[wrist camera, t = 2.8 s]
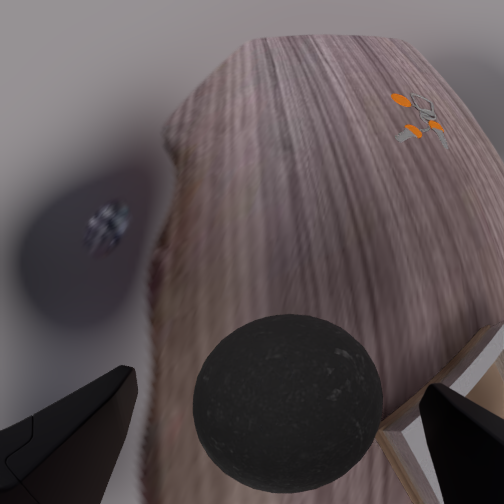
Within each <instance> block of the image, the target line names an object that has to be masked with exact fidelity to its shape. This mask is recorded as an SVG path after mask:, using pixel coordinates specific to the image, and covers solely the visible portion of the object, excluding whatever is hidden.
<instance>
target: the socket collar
mask: <svg viewBox="0 0 504 504" xmlns="http://www.w3.org/2000/svg"><path fill="white" fill-rule="evenodd" d="M493 363H495V365H496V367H497V369H498V371H499V373H500V375H501V378H502V380H503V382H504V321H502V322H500V323H498V324H496V325H494V326H492V327H490V328H489V329H488V330H487V331H486V332H485V334H484V335H483V336H482V337H481V338H480V340H479V341H478V342H477V343H476V344H475V345H474V346H473V348H472V349H471V350H470V351H469V352H468V353H467V354H466V355H465V356H464V357H463V359H462V360H461V361H460V362H459V363H458V364H457V365H456V366H455V367H454V368H453V369H452V370H451V371H450V372H449V373H448V374H447V375H446V376H445V377H444V378H443V379H442V380H441V381H440V382H439V383H442V384H444V385H446V386H447V387H449V388H451V389H452V390H454V391H456V392H458V393H459V394H461V395H463V396H464V397H465V396H466V395H467V394H468V393H469V392H470V391H471V389H472V388H473V387H474V386H475V385H476V384H477V382H478V381H479V380H480V379H481V378H482V376H483V375H484V374H485V373H486V372H487V370H488V369H489V368H490V367H491V365H492V364H493ZM419 403H420V401H418V402H417V403H416V404H415V405H414V406H413V407H412V408H410V409H409V410H408V411H407V412H406V413H404V414H403V415H402V416H401V417H400V418H398V419H397V420H396V421H395V422H393V423H392V424H391V425H390V426H388V427H387V428H386V429H384V430H383V432H384V434H385V436H386V437H387V439H388V441H389V443H390V444H391V446H392V448H393V450H394V451H395V453H396V455H397V457H398V458H399V460H400V462H401V464H402V465H403V467H404V469H405V471H406V473H407V474H408V476H409V478H410V480H411V481H412V483H413V485H414V487H415V489H416V490H417V492H418V494H419V496H420V498H421V499H422V501H423V503H424V504H444V502H443V498H442V494H441V490H440V487H439V483H438V480H437V476H436V473H435V469H434V466H433V463H432V460H431V456H430V453H429V450H428V447H427V443H426V438H425V433H424V429H423V424H422V420H421V416H420V411H419Z"/></svg>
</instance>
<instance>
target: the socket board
mask: <svg viewBox="0 0 504 504" xmlns="http://www.w3.org/2000/svg"><path fill="white" fill-rule="evenodd" d="M489 328H490V325H487V326H485V327H483V328H481V329H480V330H479V331H478V332H477V333H476V334H475V336H474V337H473V338H472V339H471V340H470V341H469V342H468V343H467V344H466V345H465V347H464V348H463V349H462V350H461V351H460V352H459V353H458V354H457V355H456V356H455V357H454V358H453V359H452V360H451V361H450V362H449V363H448V364H447V365H446V366H445V367H444V368H443V369H442V370H441V371H440V372H439V373H438V374H437V375H436V376H435V377H434V378H433V379H431V380H430V381H429V382H428V383H427V384H426V385H425V386H424V387H423V388H422V389H420V390H419V391H418V392H417V393H416V394H415V395H414V396H412V397H411V398H410V399H409V400H408V401H407V402H405V403H404V404H403V405H402V406H401V407H399V408H398V409H397V410H396V411H394V412H393V413H392V414H391V415H389V416H388V417H387V418H385V419H384V420H383V421H382V422H380V425H379V428H378V431H377V433H376V436H375V438H376V440H377V442H378V443H379V445H380V447H381V449H382V450H383V452H384V454H385V455H386V457H387V459H388V461H389V462H390V464H391V466H392V468H393V469H394V471H395V473H396V475H397V476H398V478H399V480H400V481H401V483H402V485H403V487H404V488H405V490H406V492H407V494H408V495H409V497H410V499H411V501H412V502H413V504H424V503H423V501H422V499H421V498H420V496H419V494H418V492H417V490H416V489H415V487H414V485H413V483H412V481H411V480H410V478H409V476H408V474H407V473H406V471H405V469H404V467H403V465H402V464H401V462H400V460H399V458H398V457H397V455H396V453H395V451H394V450H393V448H392V446H391V444H390V443H389V441H388V439H387V437H386V436H385V434H384V432H383V430H384V429H386V428H387V427H388V426H390V425H391V424H392V423H393V422H395V421H396V420H397V419H398V418H400V417H401V416H402V415H403V414H404V413H406V412H407V411H408V410H409V409H410V408H412V407H413V406H414V405H415V404H416V403H417V402H418V401H420V400H421V398H422V396H423V394H424V392H425V390H426V388H427V387H428V385H429V384H431V383H439V382H440V381H441V380H442V379H443V378H444V377H445V376H446V375H447V374H448V373H449V372H450V371H451V370H452V369H453V368H454V367H455V366H456V365H457V364H458V363H459V362H460V361H461V360H462V359H463V357H464V356H465V355H466V354H467V353H468V352H469V351H470V350H471V349H472V348H473V346H474V345H475V344H476V343H477V342H478V341H479V340H480V338H481V337H482V336H483V335H484V334H485V332H486V331H487V330H488V329H489ZM465 397H466V398H468V399H470V400H471V401H473V402H475V403H476V404H478V405H480V406H482V407H483V408H485V409H487V410H488V411H490V412H492V413H494V414H495V415H497V416H499V417H501V418H502V419H504V382H503V380H502V378H501V375H500V373H499V371H498V369H497V367H496V365H495V363H493V364H492V365H491V367H490V368H489V369H488V370H487V372H486V373H485V374H484V375H483V376H482V378H481V379H480V380H479V381H478V382H477V384H476V385H475V386H474V387H473V388H472V389H471V391H470V392H469V393H468V394H467V395H466V396H465Z"/></svg>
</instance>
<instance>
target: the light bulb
mask: <svg viewBox="0 0 504 504" xmlns="http://www.w3.org/2000/svg"><path fill="white" fill-rule="evenodd" d="M382 405H383V394H382V388H381V381H380V378H379V375H378V373H377V370H376V367H375V365H374V363H373V361H372V360H371V358H370V356H369V355H368V353H367V351H366V350H365V348H364V347H363V346H362V345H361V344H360V343H359V342H358V341H357V340H356V339H354V338H353V337H352V336H351V335H350V334H349V333H348V332H346V331H345V330H343V329H342V328H341V327H338V326H336V325H334V324H332V323H330V322H328V321H325V320H322V319H318V318H315V317H312V316H306V315H294V314H285V315H276V316H270V317H265V318H262V319H258V320H255V321H253V322H250V323H248V324H246V325H244V326H242V327H240V328H238V329H237V330H235V331H234V332H233V333H231V334H230V335H228V336H227V337H226V338H224V339H223V340H221V342H220V343H219V344H218V345H217V346H216V347H215V349H214V350H213V351H212V352H211V354H210V355H209V356H208V357H207V359H206V361H205V362H204V364H203V367H202V369H201V371H200V373H199V375H198V377H197V381H196V386H195V390H194V395H193V416H194V422H195V427H196V431H197V434H198V438H199V440H200V442H201V444H202V446H203V448H204V449H205V451H206V453H207V455H208V456H209V457H210V458H211V460H212V461H213V462H214V463H215V464H216V465H217V466H218V467H219V468H220V469H221V470H222V471H223V472H224V473H225V474H227V475H228V476H230V477H232V478H233V479H235V480H237V481H238V482H240V483H242V484H244V485H246V486H249V487H251V488H253V489H257V490H262V491H266V492H271V493H297V492H303V491H308V490H313V489H317V488H319V487H321V486H324V485H326V484H328V483H331V482H333V481H335V480H336V479H338V478H340V477H341V476H343V475H344V474H346V473H347V472H348V471H349V470H350V469H351V468H352V467H353V466H354V465H355V464H357V463H358V462H359V461H360V460H361V459H362V457H363V456H364V454H365V453H366V452H367V450H368V449H369V447H370V446H371V444H372V442H373V440H374V438H375V436H376V433H377V431H378V428H379V425H380V420H381V416H382Z"/></svg>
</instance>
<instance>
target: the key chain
mask: <svg viewBox="0 0 504 504" xmlns="http://www.w3.org/2000/svg"><path fill="white" fill-rule="evenodd" d="M410 94H411V96H412V99H413V101H414V103H415V105H413V104H411V103H410V101H409V100H408V99H407V98H405V97H403V96H402V95H399V94H392V95H391V98H392V99H393V100H394V101H395V102H397V103H398V104H400V105H402V106H405V107H410V106H411V105H412V106H414V107H416V108H417V109H418V110H420V112H419V113H420V118H421V119H422V120H423V121H424V122H425V123H427V124H428V125H429V126H428V127H429V128H427V129H418V128H416V127H415V126H412V125H405V129H406V130H404V131H403V132H404V133H403V132H400V133H401V135H400V134H398V135H399V136H395V137H396V138H395V139H396V140H397V141H399V142H400V143H401V142H403V141H405V140H406V139H408V138H410V137H411V136H413V137H417V138H421V137H422V133H421V131H422V132H424V131H425V132H426V131H429V130H430V128H431V129H433V130H434V131H435V132H436V133H437V135H438V137H439V139H440V141H441V143H442V144H443V146H444V148H446V149H449V148H448V146H447V144H446V143H447V142H446V139H445V138H444V134H442V133H444V130H443V128H442V127H441V125H440V124H438V123H437V122H435V121H434V120H436V119H437V116H436V115H435V113H434V106H433V103H432V102H431V101H430V100H428V99H426V98H424V97H422V96H420V95H417V94H414V93H410ZM413 95H414V96H417V97H420V98H422V99H424V100H426V101H428V102H429V103H430V104H431V111H430V110H427V109H421V108H419V106H418V105H417V103H416V101H415V99H414V97H413ZM422 112H424V113H422ZM427 114H428V115H427ZM424 115H425V116H424ZM429 115H431V116H434V118H431V117H430V116H429ZM426 116H427V117H426ZM424 118H425V119H426V120H429V122H427V121H426V120H424Z"/></svg>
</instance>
